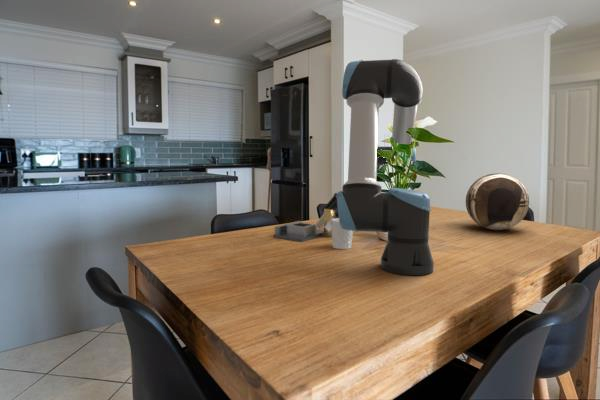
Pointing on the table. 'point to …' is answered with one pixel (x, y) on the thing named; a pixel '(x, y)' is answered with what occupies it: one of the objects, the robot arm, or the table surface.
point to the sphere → (497, 201)
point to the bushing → (327, 216)
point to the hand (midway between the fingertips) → (322, 227)
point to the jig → (297, 231)
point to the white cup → (340, 235)
